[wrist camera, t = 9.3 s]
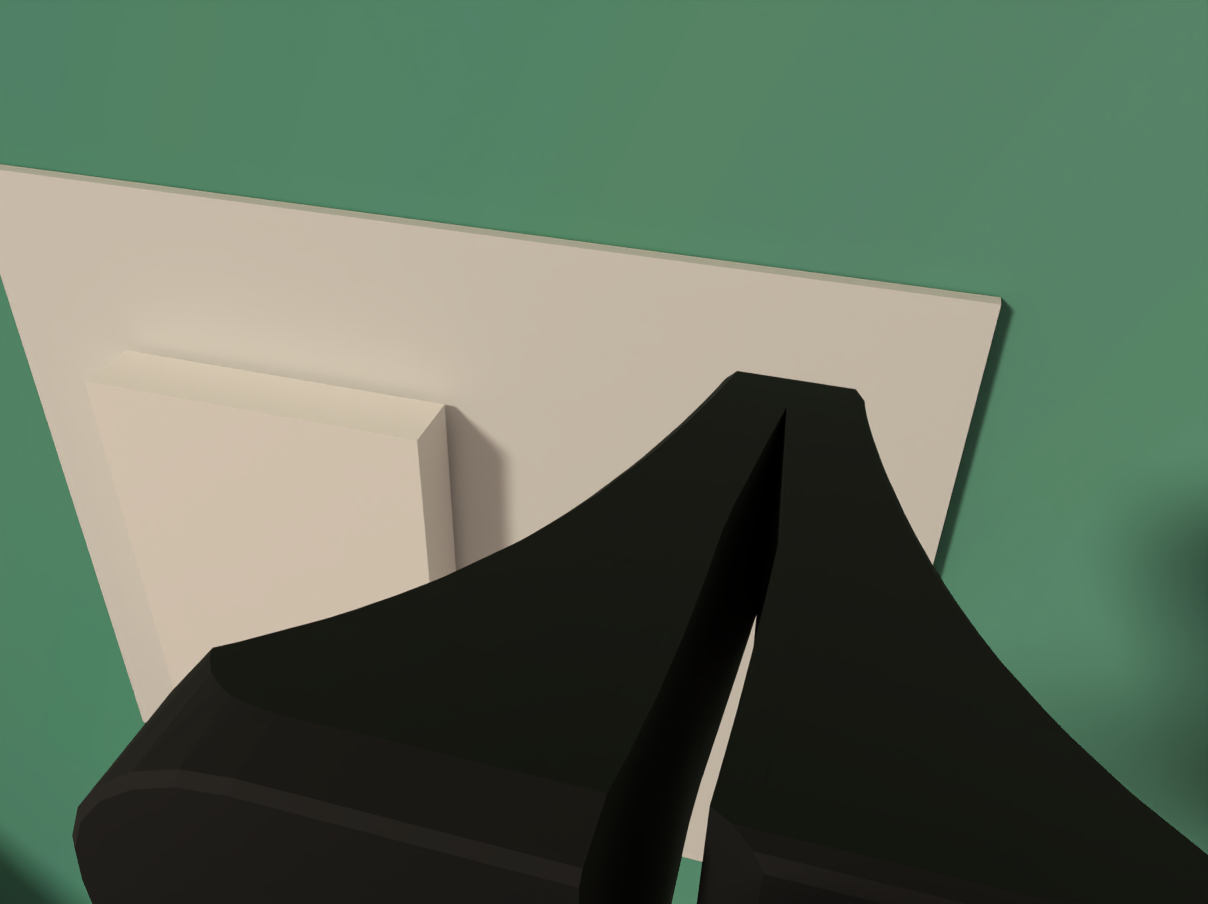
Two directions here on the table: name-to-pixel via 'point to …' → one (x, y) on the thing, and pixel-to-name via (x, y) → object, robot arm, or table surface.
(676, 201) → the table surface
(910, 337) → the mat
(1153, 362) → the table surface
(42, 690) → the table surface
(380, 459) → the tile
